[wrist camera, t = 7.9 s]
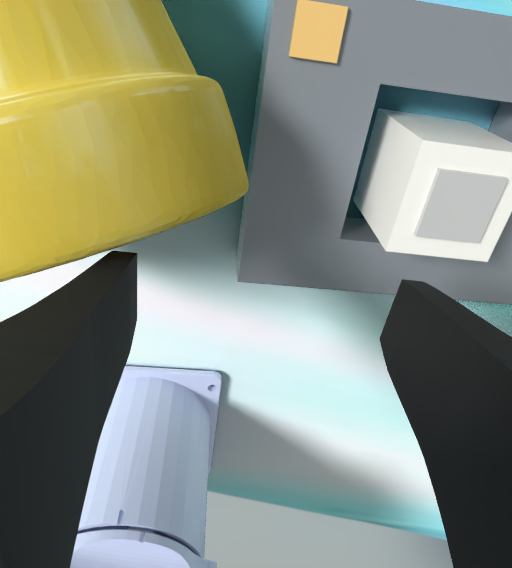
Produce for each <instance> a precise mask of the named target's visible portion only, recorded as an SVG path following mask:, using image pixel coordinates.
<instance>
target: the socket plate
mask: <svg viewBox="0 0 512 568" xmlns="http://www.w3.org/2000/svg"><path fill="white" fill-rule="evenodd" d="M380 84H384V85H391V86H398V87H406V88H413V89H420V90H427V91H434V92H441V93H448V94H455V95H462V96H469V97H476V98H483V99H490V100H497V101H500V103H499V105H498V108H497V110H496V113H495V115H494V118H493V120H492V123H491V125H490V128H489V130H488V131H489V132H491V133H493V134H495V135H497V136H499V137H501V138H503V139H505V140H507V141H509V142H511V143H512V17H511V16H505V15H499V14H493V13H487V12H481V11H475V10H469V9H463V8H457V7H451V6H445V5H439V4H433V3H427V2H421V1H415V0H268V8H267V17H266V25H265V33H264V41H263V49H262V57H261V65H260V73H259V81H258V89H257V97H256V105H255V113H254V121H253V129H252V137H251V145H250V153H249V161H248V169H247V177H248V183H249V188H248V191H247V192H246V194H245V195H244V201H243V209H242V217H241V225H240V233H239V241H238V249H237V272H238V282H248V283H260V284H272V285H284V286H296V287H308V288H319V289H331V290H343V291H355V292H367V293H379V294H391V295H396V294H397V291H398V288H399V285H400V283H401V280H402V279H404V280H414V281H423V282H425V283H427V284H429V285H431V286H433V287H435V288H436V289H438V290H440V291H441V292H443V293H445V294H446V295H448V296H449V297H451V298H452V299H454V300H463V301H474V302H486V303H498V304H510V305H512V212H511V214H510V216H509V218H508V220H507V223H506V225H505V227H504V229H503V231H502V233H501V235H500V237H499V239H498V241H497V243H496V245H495V247H494V249H493V251H492V254H491V256H490V258H489V260H488V262H483V261H474V260H464V259H455V258H445V257H436V256H426V255H417V254H407V253H398V252H388V251H385V249H384V248H383V246H382V245H381V243H380V241H379V240H378V238H377V237H376V235H375V234H374V232H373V230H372V229H371V227H370V226H369V224H368V222H367V221H366V219H363V218H353V217H346V214H347V210H348V206H349V202H350V198H351V194H352V191H353V187H354V183H355V179H356V175H357V171H358V167H359V164H360V160H361V156H362V152H363V148H364V144H365V141H366V137H367V133H368V129H369V125H370V121H371V117H372V114H373V110H374V106H375V102H376V98H377V94H378V91H379V87H380Z"/></svg>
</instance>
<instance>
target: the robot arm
mask: <svg viewBox="0 0 512 568" xmlns="http://www.w3.org/2000/svg"><path fill="white" fill-rule="evenodd" d="M136 321H137V253H131V252H121V251H111V252H110V253H108V254H107V255H105V256H104V257H103V258H101V259H100V260H99V261H97V262H96V263H95V264H93V265H92V266H91V267H90V268H88V269H87V270H85V271H84V272H83V273H81V274H80V275H79V276H77V277H76V278H74V279H73V280H72V281H70V282H69V283H67V284H66V285H64V286H63V287H61V288H60V289H58V290H57V291H55V292H53V293H52V294H50V295H49V296H47V297H45V298H44V299H42V300H41V301H39V302H38V303H36V304H34V305H32V306H31V307H29V308H27V309H25V310H24V311H22V312H20V313H18V314H16V315H14V316H12V317H10V318H8V319H6V320H4V321H2V322H0V568H217V563H216V562H215V561H210V560H206V559H204V550H205V527H206V504H207V503H206V502H207V480H208V476H209V475H210V470H211V462H212V455H213V447H214V439H215V431H216V423H217V415H218V407H219V399H220V391H221V383H222V377H221V374H220V373H218V372H215V371H202V370H186V369H169V368H152V367H135V366H125V365H126V362H127V359H128V356H129V353H130V350H131V345H132V340H133V336H134V331H135V326H136ZM380 342H381V346H382V351H383V355H384V359H385V362H386V366H387V370H388V372H389V375H390V377H391V380H392V382H393V385H394V387H395V389H396V392H397V394H398V396H399V399H400V401H401V403H402V406H403V408H404V410H405V413H406V415H407V417H408V420H409V422H410V424H411V427H412V429H413V431H414V434H415V436H416V438H417V441H418V443H419V446H420V448H421V451H422V454H423V456H424V459H425V463H426V466H427V469H428V472H429V476H430V479H431V482H432V486H433V489H434V492H435V496H436V500H437V503H438V507H439V511H440V514H441V518H442V522H443V525H444V529H445V533H446V537H447V542H448V546H449V550H450V554H451V559H452V562H453V567H454V568H512V337H510V336H509V335H507V334H505V333H504V332H502V331H501V330H499V329H498V328H496V327H494V326H493V325H491V324H490V323H488V322H487V321H485V320H484V319H482V318H481V317H479V316H478V315H476V314H475V313H473V312H472V311H470V310H469V309H467V308H466V307H464V306H463V305H461V304H460V303H458V302H457V301H455V300H454V299H452V298H451V297H449V296H448V295H446V294H445V293H443V292H441V291H440V290H438V289H436V288H435V287H433V286H431V285H429V284H427V283H425V282H423V281H414V280H404V279H402V280H401V283H400V285H399V288H398V291H397V294H396V296H395V299H394V302H393V304H392V307H391V310H390V312H389V315H388V318H387V320H386V323H385V326H384V328H383V331H382V334H381V336H380ZM210 385H215V386H213V387H212V386H210Z"/></svg>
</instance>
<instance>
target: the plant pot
mask: <svg viewBox="0 0 512 568" xmlns="http://www.w3.org/2000/svg"><path fill="white" fill-rule="evenodd" d="M248 188H249V183H248V177H247V173H246V169H245V165H244V161H243V157H242V153H241V150H240V146H239V142H238V138H237V134H236V130H235V127H234V124H233V121H232V118H231V114H230V111H229V108H228V105H227V102H226V99H225V96H224V93H223V90H222V88H221V86H220V85H219V83H218V82H217V81H215V80H213V79H211V78H209V77H205V76H199V75H198V74H197V72H196V70H195V68H194V66H193V64H192V62H191V60H190V58H189V56H188V54H187V52H186V50H185V48H184V46H183V44H182V42H181V40H180V38H179V36H178V34H177V32H176V30H175V28H174V26H173V24H172V22H171V20H170V18H169V15H168V13H167V11H166V9H165V7H164V5H163V3H162V1H161V0H0V282H2V281H6V280H9V279H13V278H17V277H21V276H25V275H29V274H32V273H36V272H40V271H43V270H46V269H50V268H53V267H56V266H60V265H63V264H67V263H70V262H74V261H77V260H80V259H83V258H86V257H89V256H92V255H95V254H98V253H101V252H105V251H108V250H111V249H114V248H117V247H120V246H123V245H126V244H129V243H132V242H135V241H138V240H141V239H144V238H146V237H149V236H152V235H155V234H158V233H161V232H163V231H166V230H169V229H171V228H174V227H176V226H179V225H182V224H184V223H187V222H190V221H192V220H195V219H198V218H200V217H203V216H205V215H207V214H210V213H212V212H214V211H216V210H218V209H220V208H222V207H224V206H226V205H228V204H231V203H233V202H234V201H236V200H238V199H239V198H241V197H242V196H243V195H245V194H246V192H247V191H248Z"/></svg>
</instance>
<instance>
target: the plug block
mask: <svg viewBox="0 0 512 568" xmlns="http://www.w3.org/2000/svg"><path fill="white" fill-rule="evenodd" d="M353 200H354V202H355V203H356V205H357V207H358V208H359V210H360V211H361V213H362V214H363V216H364V218H365V219H366V221H367V222H368V224H369V226H370V227H371V229H372V230H373V232H374V234H375V235H376V237H377V238H378V240H379V241H380V243H381V245H382V246H383V248H384V249H385V251H388V252H398V253H407V254H417V255H426V256H436V257H445V258H455V259H464V260H474V261H483V262H488V260H489V258H490V256H491V254H492V251H493V249H494V247H495V245H496V243H497V241H498V239H499V237H500V235H501V233H502V231H503V229H504V227H505V225H506V223H507V220H508V218H509V216H510V214H511V212H512V143H511V142H509V141H507V140H505V139H503V138H501V137H499V136H497V135H495V134H493V133H491V132H489V131H487V130H485V129H483V128H481V127H479V126H477V125H475V124H473V123H471V122H469V121H462V120H455V119H448V118H441V117H434V116H427V115H421V114H414V113H407V112H400V111H393V110H386V109H379V108H378V111H377V115H376V119H375V122H374V126H373V130H372V133H371V137H370V141H369V144H368V148H367V151H366V155H365V159H364V162H363V166H362V170H361V173H360V177H359V181H358V184H357V188H356V192H355V195H354V199H353Z"/></svg>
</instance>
